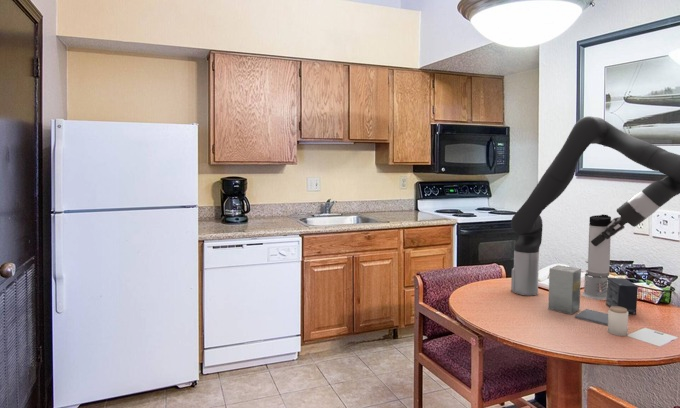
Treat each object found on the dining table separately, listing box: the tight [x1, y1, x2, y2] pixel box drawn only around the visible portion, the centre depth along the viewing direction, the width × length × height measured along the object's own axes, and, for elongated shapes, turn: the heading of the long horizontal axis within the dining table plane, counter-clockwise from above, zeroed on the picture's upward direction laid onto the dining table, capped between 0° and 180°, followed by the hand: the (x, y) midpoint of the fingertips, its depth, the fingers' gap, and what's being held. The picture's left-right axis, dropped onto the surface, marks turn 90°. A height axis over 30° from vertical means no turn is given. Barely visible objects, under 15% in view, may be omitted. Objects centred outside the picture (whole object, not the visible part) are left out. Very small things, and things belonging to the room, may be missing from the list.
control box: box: [547, 264, 582, 315], centre depth 159 cm, size 9×7×15 cm
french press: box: [580, 258, 608, 301], centre depth 174 cm, size 10×12×25 cm
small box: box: [605, 276, 639, 316], centre depth 158 cm, size 11×6×10 cm, turn 169°
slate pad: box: [574, 308, 608, 327], centre depth 150 cm, size 10×10×1 cm
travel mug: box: [587, 214, 612, 278], centre depth 148 cm, size 6×7×20 cm
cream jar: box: [607, 306, 629, 337], centre depth 137 cm, size 5×5×8 cm
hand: (593, 242), depth 149 cm, fingers closed on travel mug, 6 cm apart
